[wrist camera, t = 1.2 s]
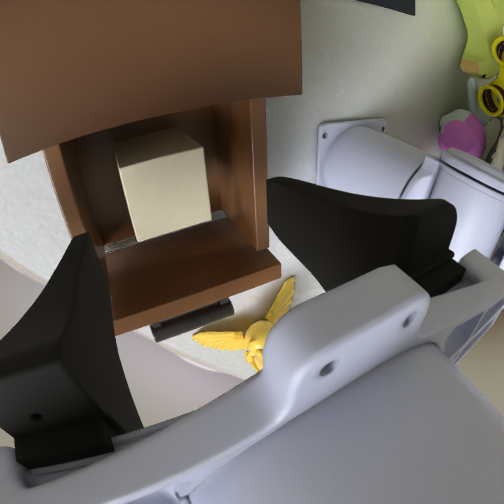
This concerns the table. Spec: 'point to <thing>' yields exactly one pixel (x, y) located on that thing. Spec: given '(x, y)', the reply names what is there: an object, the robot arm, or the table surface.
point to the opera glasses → (494, 85)
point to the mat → (395, 5)
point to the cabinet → (136, 62)
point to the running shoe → (497, 152)
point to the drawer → (181, 242)
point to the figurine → (251, 330)
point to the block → (163, 182)
